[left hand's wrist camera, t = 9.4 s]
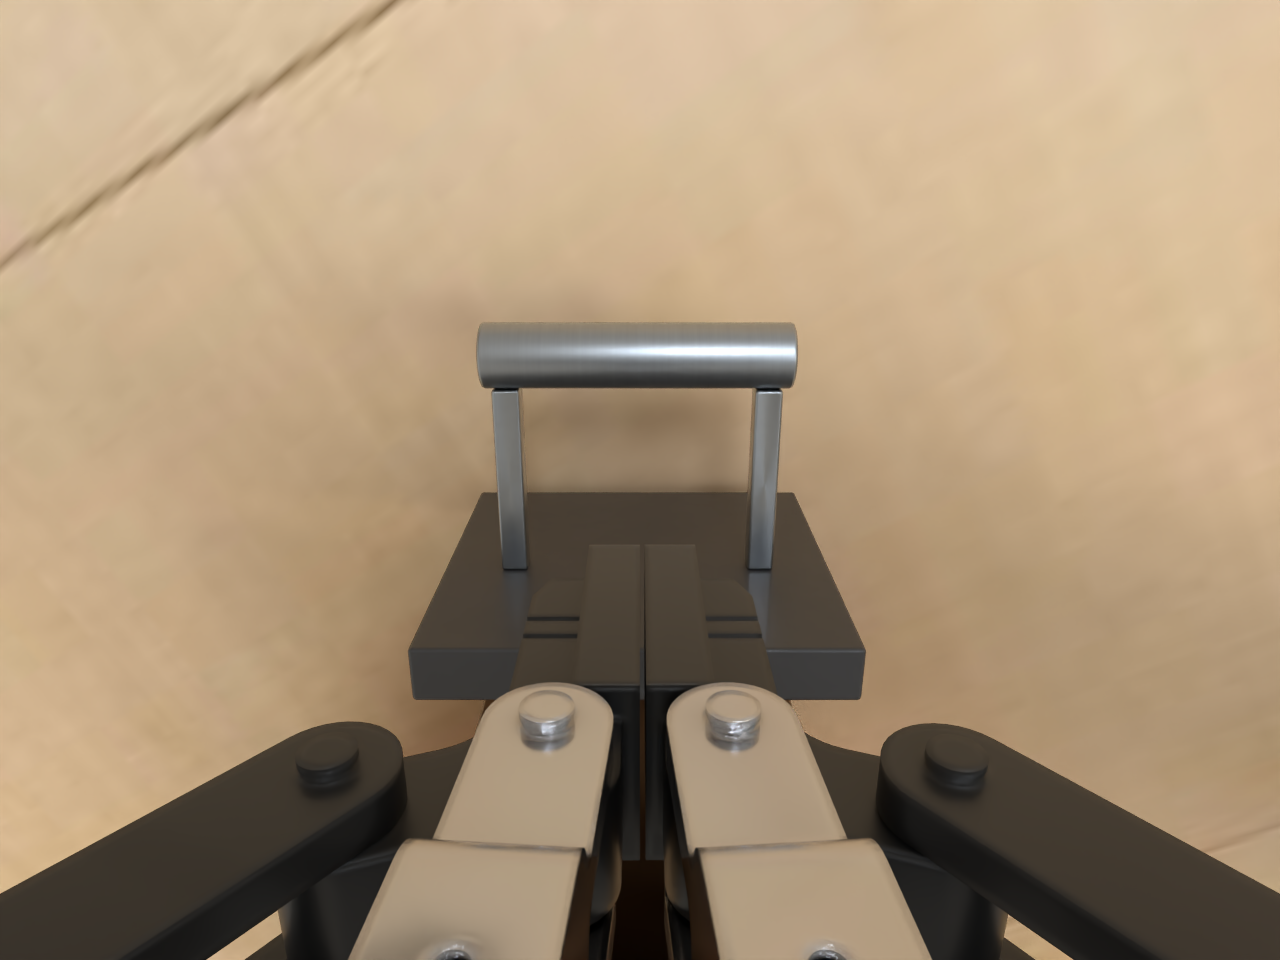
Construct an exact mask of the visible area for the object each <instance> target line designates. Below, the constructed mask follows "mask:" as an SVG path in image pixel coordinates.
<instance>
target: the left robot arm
mask: <svg viewBox="0 0 1280 960" xmlns="http://www.w3.org/2000/svg"><path fill="white" fill-rule="evenodd" d="M644 710H645V832H646V860H664V880H665V894H664V926H665V934H666V942H667V950H668V958H669V960H1035V959H1034V958H1032V957H1031V956H1029V955H1028V954H1027V953H1025V952H1024V951H1022V950H1021V949H1020V948H1018V947H1017V946H1015V945H1014V944H1013V943H1011V942H1010V941H1008V940H1007V939H1006V938H1004V933H1005V928H1006V923H1007V918H1008V914H1009V915H1010V916H1012V917H1013V918H1014V919H1016V920H1017V921H1019V922H1020V923H1022V924H1023V925H1025V926H1026V927H1027V928H1029V929H1030V930H1032V931H1033V932H1035V933H1036V934H1038V935H1039V936H1040V937H1042V938H1043V939H1045V940H1046V941H1048V942H1049V943H1051V944H1052V945H1053V946H1055V947H1056V948H1058V949H1059V950H1061V951H1062V952H1063V953H1065V954H1066V955H1068V956H1069V957H1071V958H1072V959H1074V960H1280V894H1279V893H1277V892H1275V891H1274V890H1272V889H1270V888H1268V887H1266V886H1264V885H1263V884H1261V883H1259V882H1257V881H1255V880H1253V879H1251V878H1250V877H1248V876H1246V875H1244V874H1242V873H1240V872H1238V871H1237V870H1235V869H1233V868H1231V867H1229V866H1227V865H1226V864H1224V863H1222V862H1220V861H1218V860H1216V859H1214V858H1213V857H1211V856H1209V855H1207V854H1205V853H1203V852H1201V851H1200V850H1198V849H1196V848H1194V847H1192V846H1190V845H1189V844H1187V843H1185V842H1183V841H1181V840H1179V839H1177V838H1176V837H1174V836H1172V835H1170V834H1168V833H1166V832H1164V831H1163V830H1161V829H1159V828H1157V827H1155V826H1153V825H1152V824H1150V823H1148V822H1146V821H1144V820H1142V819H1140V818H1139V817H1137V816H1135V815H1133V814H1131V813H1129V812H1128V811H1126V810H1124V809H1122V808H1120V807H1118V806H1116V805H1115V804H1113V803H1111V802H1109V801H1107V800H1105V799H1103V798H1102V797H1100V796H1098V795H1096V794H1094V793H1092V792H1091V791H1089V790H1087V789H1085V788H1083V787H1081V786H1079V785H1078V784H1076V783H1074V782H1072V781H1070V780H1068V779H1066V778H1065V777H1063V776H1061V775H1059V774H1057V773H1055V772H1054V771H1052V770H1050V769H1048V768H1046V767H1044V766H1042V765H1041V764H1039V763H1037V762H1035V761H1033V760H1031V759H1029V758H1028V757H1026V756H1024V755H1022V754H1020V753H1018V752H1017V751H1015V750H1013V749H1011V748H1009V747H1007V746H1005V745H1004V744H1002V743H1000V742H998V741H996V740H994V739H992V738H990V737H988V736H986V735H984V734H981V733H979V732H976V731H973V730H970V729H967V728H963V727H959V726H954V725H948V724H936V723H931V724H918V725H912V726H909V727H905V728H902V729H900V730H898V731H896V732H894V733H893V734H892V735H891V736H889V737H888V738H887V740H886V741H885V742H884V744H883V747H882V749H881V756H875V755H870V754H866V753H861V752H857V751H852V750H847V749H843V748H840V747H836V746H833V745H830V744H827V743H824V742H822V741H820V740H818V739H816V738H813V737H811V736H810V735H808V734H806V733H805V732H804V731H803V728H802V726H801V723H800V721H799V718H798V716H797V714H796V712H795V711H794V709H793V708H792V707H791V706H790V705H789V704H788V703H787V702H786V701H785V700H784V699H782V698H781V697H779V696H778V695H777V691H776V687H775V683H774V679H773V675H772V671H771V667H770V663H769V659H768V655H767V651H766V648H765V644H764V640H763V638H762V632H761V628H760V624H759V621H758V616H757V612H756V608H755V604H754V601H753V597H752V595H751V594H750V593H748V592H747V591H746V590H745V589H744V588H743V587H742V586H741V585H740V584H739V583H737V582H736V581H735V580H734V579H733V578H700V575H699V568H698V561H697V554H696V547H695V545H644ZM622 860H640V545H589V550H588V558H587V566H586V573H585V578H552V579H550V580H549V581H548V582H547V583H546V584H545V585H544V586H543V587H542V588H541V589H540V590H538V591H537V592H536V593H535V594H534V595H533V596H532V599H531V603H530V608H529V612H528V616H527V621H526V624H525V628H524V632H523V638H522V640H521V644H520V648H519V652H518V657H517V661H516V665H515V669H514V673H513V677H512V681H511V685H510V689H509V692H508V693H506V694H504V695H502V696H501V697H499V698H498V699H496V700H495V701H494V702H493V703H492V704H491V705H490V706H489V707H488V708H487V709H486V711H485V712H484V714H483V716H482V718H481V721H480V723H479V726H478V728H477V731H476V733H475V735H474V737H473V738H471V739H469V740H467V741H465V742H463V743H460V744H457V745H454V746H452V747H448V748H444V749H440V750H436V751H431V752H427V753H422V754H417V755H413V756H408V757H403V752H402V747H401V744H400V742H399V740H398V739H397V738H396V736H395V735H394V734H392V733H391V732H390V731H388V730H387V729H384V728H382V727H380V726H377V725H374V724H370V723H364V722H337V723H331V724H325V725H321V726H317V727H314V728H311V729H308V730H305V731H302V732H300V733H298V734H296V735H294V736H291V737H289V738H288V739H286V740H284V741H282V742H280V743H278V744H276V745H275V746H273V747H271V748H269V749H267V750H265V751H263V752H262V753H260V754H258V755H256V756H254V757H252V758H251V759H249V760H247V761H245V762H243V763H241V764H239V765H238V766H236V767H234V768H232V769H230V770H228V771H227V772H225V773H223V774H221V775H219V776H217V777H215V778H214V779H212V780H210V781H208V782H206V783H204V784H202V785H201V786H199V787H197V788H195V789H193V790H191V791H190V792H188V793H186V794H184V795H182V796H180V797H178V798H177V799H175V800H173V801H171V802H169V803H167V804H165V805H164V806H162V807H160V808H158V809H156V810H154V811H153V812H151V813H149V814H147V815H145V816H143V817H141V818H140V819H138V820H136V821H134V822H132V823H130V824H128V825H127V826H125V827H123V828H121V829H119V830H117V831H116V832H114V833H112V834H110V835H108V836H106V837H104V838H103V839H101V840H99V841H97V842H95V843H93V844H91V845H90V846H88V847H86V848H84V849H82V850H80V851H79V852H77V853H75V854H73V855H71V856H69V857H67V858H66V859H64V860H62V861H60V862H58V863H56V864H55V865H53V866H51V867H49V868H47V869H45V870H43V871H42V872H40V873H38V874H36V875H34V876H32V877H30V878H29V879H27V880H25V881H23V882H21V883H19V884H18V885H16V886H14V887H12V888H10V889H8V890H6V891H5V892H3V893H1V894H0V960H206V959H208V958H209V957H211V956H212V955H214V954H215V953H217V952H218V951H219V950H221V949H222V948H224V947H225V946H227V945H228V944H230V943H231V942H232V941H234V940H235V939H237V938H238V937H240V936H241V935H242V934H244V933H245V932H247V931H248V930H250V929H251V928H253V927H254V926H255V925H257V924H258V923H260V922H261V921H263V920H264V919H266V918H267V917H268V916H270V915H271V914H273V913H274V912H276V911H277V910H278V914H279V919H280V925H281V930H282V933H281V934H280V935H279V936H277V937H276V938H274V939H273V940H272V941H270V942H269V943H267V944H266V945H265V946H263V947H262V948H260V949H259V950H258V951H256V952H255V953H253V954H252V955H251V956H249V957H248V958H247V959H245V960H611V958H612V950H613V942H614V934H615V926H616V901H617V899H618V896H619V893H620V890H621V882H622Z"/></svg>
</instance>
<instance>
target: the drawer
mask: <svg viewBox="0 0 1280 960" xmlns="http://www.w3.org/2000/svg"><path fill="white" fill-rule="evenodd" d="M476 357H477V370H478V376H479V380H480V383H481V385H482V387H484V388H494V389H493V390H492V409H493V426H494V442H495V458H496V475H497V491H498V493H482V494H481V496H480V498H479V501H478V503H477V505H476V507H475V509H474V511H473V513H472V515H471V518H470V520H469V522H468V524H467V526H466V528H465V530H464V532H463V535H462V537H461V539H460V541H459V543H458V545H457V547H456V549H455V552H454V554H453V556H452V558H451V560H450V562H449V564H448V566H447V569H446V571H445V573H444V575H443V577H442V579H441V581H440V583H439V586H438V588H437V590H436V592H435V594H434V596H433V598H432V600H431V603H430V605H429V607H428V609H427V611H426V613H425V615H424V617H423V620H422V622H421V624H420V626H419V628H418V630H417V632H416V634H415V637H414V639H413V641H412V643H411V645H410V647H409V650H408V656H409V665H410V674H411V684H412V693H413V698H414V699H416V700H484V704H483V707H482V711H481V714H480V718H479V721H478V725H477V728H478V726H479V723H480V721H481V718H482V716H483V714H484V712H485V711H486V709H487V708H488V707H489V706H490V705H491V704H492V703H493V702H494V701H495V700H496V699H498V698H499V697H501V696H502V695H504V694H506V693H508V692H509V689H510V685H511V681H512V677H513V673H514V669H515V665H516V661H517V657H518V652H519V648H520V644H521V640H522V638H523V632H524V628H525V624H526V621H527V616H528V612H529V608H530V603H531V599H532V596H533V595H534V594H535V593H536V592H537V591H538V590H540V589H541V588H542V587H543V586H544V585H545V584H546V583H547V582H548V581H549V580H550V579H552V578H585V573H586V566H587V558H588V550H589V545H640V860H622V882H621V890H620V893H619V896H618V899H617V901H616V926H615V934H614V942H613V950H612V958H611V960H669V958H668V950H667V942H666V934H665V926H664V894H665V880H664V860H646V832H645V710H644V545H695V547H696V554H697V561H698V568H699V575H700V578H733V579H734V580H735V581H736V582H737V583H739V584H740V585H741V586H742V587H743V588H744V589H745V590H746V591H747V592H748V593H750V594H751V595H752V597H753V601H754V604H755V608H756V612H757V616H758V621H759V624H760V628H761V632H762V638H763V640H764V644H765V648H766V651H767V655H768V659H769V663H770V667H771V671H772V675H773V679H774V683H775V687H776V691H777V695H778V696H779V697H781V698H782V699H784V700H785V701H786V702H787V703H788V704H789V705H790V706H791V707H792V704H791V701H790V700H858V699H860V698H861V693H862V684H863V674H864V665H865V655H866V650H865V647H864V645H863V643H862V641H861V639H860V637H859V634H858V632H857V630H856V628H855V626H854V623H853V621H852V619H851V617H850V615H849V613H848V610H847V608H846V606H845V604H844V602H843V599H842V597H841V595H840V593H839V591H838V589H837V586H836V584H835V582H834V580H833V578H832V575H831V573H830V571H829V569H828V567H827V565H826V562H825V560H824V558H823V556H822V554H821V551H820V549H819V547H818V545H817V543H816V541H815V538H814V536H813V534H812V532H811V530H810V527H809V525H808V523H807V521H806V519H805V517H804V514H803V512H802V510H801V508H800V506H799V503H798V501H797V499H796V497H795V495H794V493H777V485H778V468H779V451H780V434H781V418H782V401H783V392H782V390H781V388H791V387H792V386H793V384H794V382H795V378H796V373H797V364H798V340H797V332H796V328H795V326H794V324H793V323H482V324H481V325H480V327H479V330H478V334H477V345H476ZM522 388H753V390H752V411H751V433H750V454H749V476H748V493H527V479H526V458H525V437H524V417H523V396H522ZM477 728H476V731H477ZM475 733H476V732H475Z"/></svg>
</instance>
